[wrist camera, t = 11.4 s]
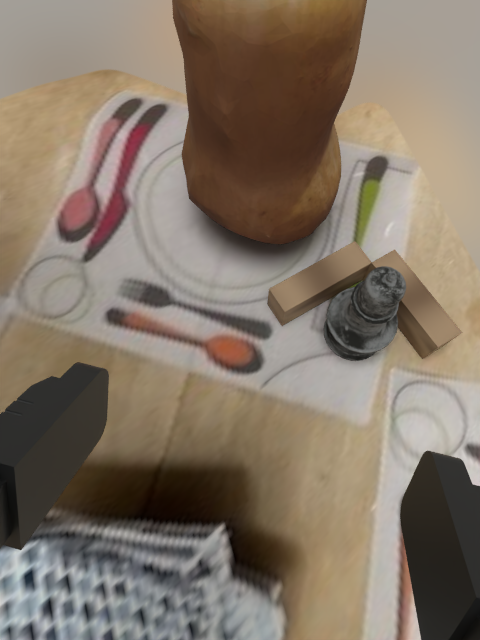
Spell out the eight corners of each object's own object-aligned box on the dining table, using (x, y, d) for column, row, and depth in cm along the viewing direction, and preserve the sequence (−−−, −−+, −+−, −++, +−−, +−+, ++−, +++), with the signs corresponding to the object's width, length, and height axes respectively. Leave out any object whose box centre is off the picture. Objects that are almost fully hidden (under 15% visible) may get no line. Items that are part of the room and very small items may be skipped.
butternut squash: (337, 169, 46) (428, -153, 23) (315, 282, 42) (400, 27, 18) (209, 146, 48) (171, -179, 24) (175, 254, 43) (87, -17, 20)
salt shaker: (377, 299, 41) (426, 230, 30) (392, 359, 39) (450, 310, 28) (315, 306, 41) (340, 239, 30) (326, 367, 39) (358, 320, 28)
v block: (442, 363, 39) (460, 352, 36) (263, 321, 41) (264, 307, 37) (451, 282, 42) (468, 265, 38) (282, 245, 43) (285, 226, 40)
